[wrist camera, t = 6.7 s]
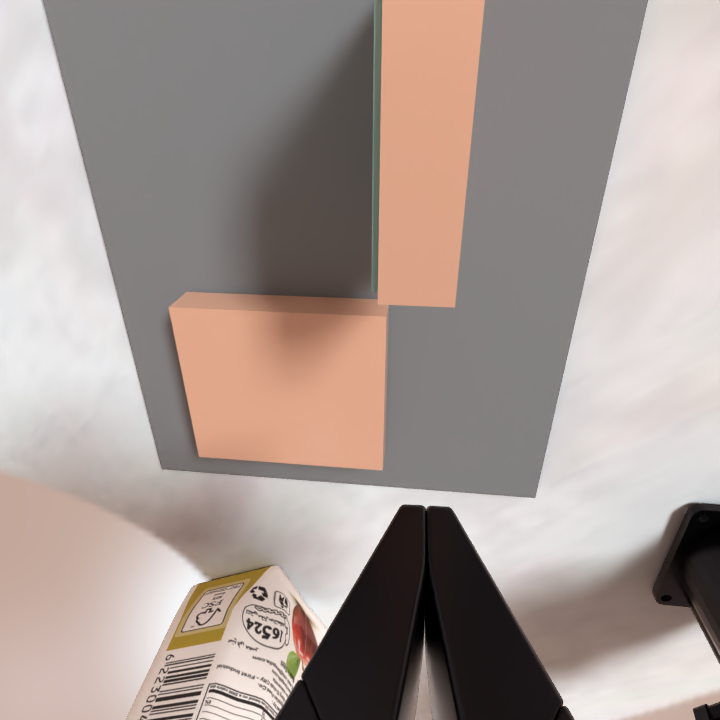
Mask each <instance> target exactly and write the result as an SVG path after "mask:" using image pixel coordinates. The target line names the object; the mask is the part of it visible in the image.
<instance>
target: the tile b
mask: <svg viewBox="0 0 720 720" xmlns="http://www.w3.org/2000/svg"><path fill="white" fill-rule="evenodd" d="M484 4H485V0H374V72H373V182H372V291H371V292H378V304H380V305H405V306H430V307H454V308H455V302H456V292H457V282H458V271H459V261H460V251H461V240H462V230H463V220H464V210H465V199H466V189H467V179H468V168H469V158H470V148H471V137H472V127H473V117H474V107H475V96H476V86H477V76H478V65H479V55H480V45H481V34H482V24H483V14H484Z"/></svg>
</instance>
